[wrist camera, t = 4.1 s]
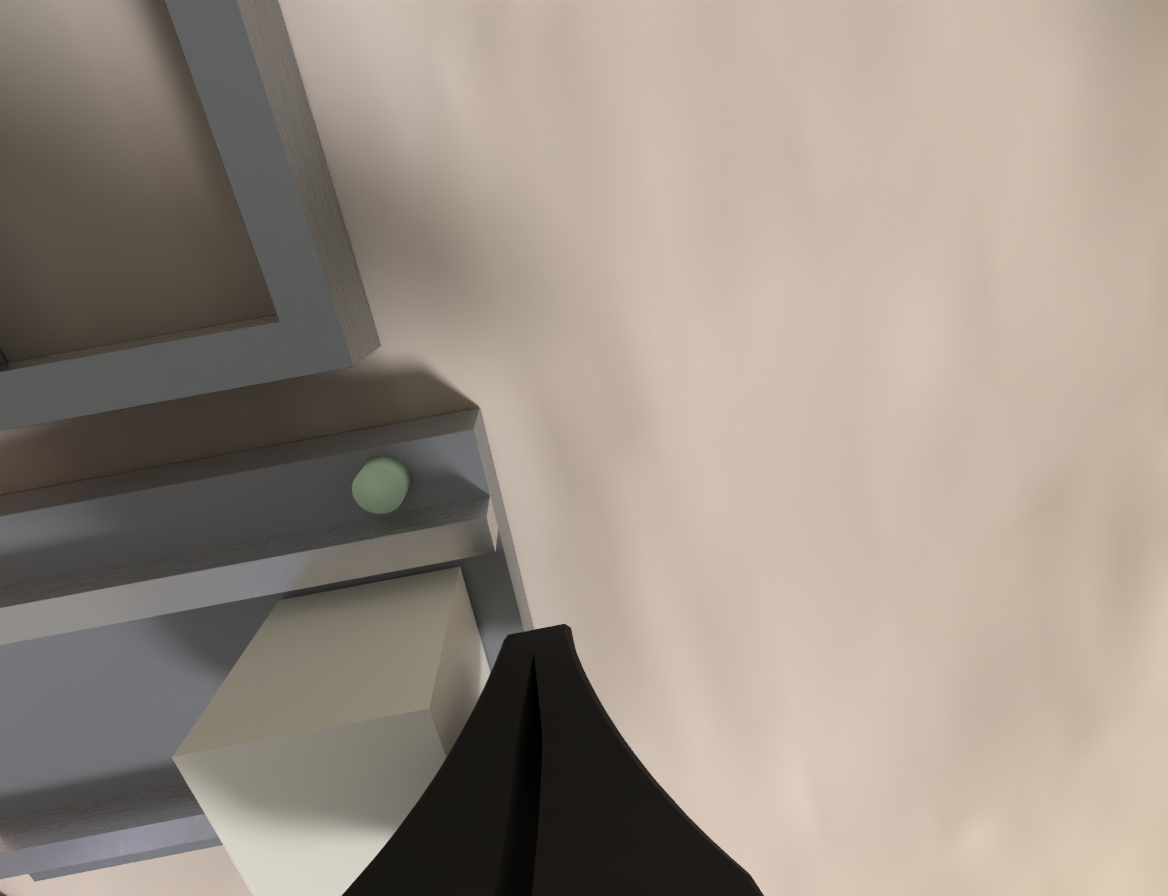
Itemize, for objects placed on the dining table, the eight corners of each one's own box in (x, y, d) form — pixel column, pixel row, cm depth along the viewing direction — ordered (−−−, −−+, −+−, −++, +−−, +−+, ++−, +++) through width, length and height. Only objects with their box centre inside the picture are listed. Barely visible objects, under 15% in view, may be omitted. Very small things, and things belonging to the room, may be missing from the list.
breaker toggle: (499, 704, 14) (487, 875, 10) (337, 734, 14) (266, 918, 10) (459, 566, 13) (428, 708, 9) (278, 599, 13) (171, 757, 9)
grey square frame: (381, 345, 12) (353, 366, 11) (-16, 417, 12) (-114, 451, 10) (225, -174, 9) (148, -275, 7) (-309, -86, 9) (-523, -166, 7)
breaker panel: (559, 732, 17) (563, 814, 14) (76, 825, 16) (1, 924, 14) (479, 407, 13) (468, 447, 11) (-142, 521, 13) (-292, 587, 10)
